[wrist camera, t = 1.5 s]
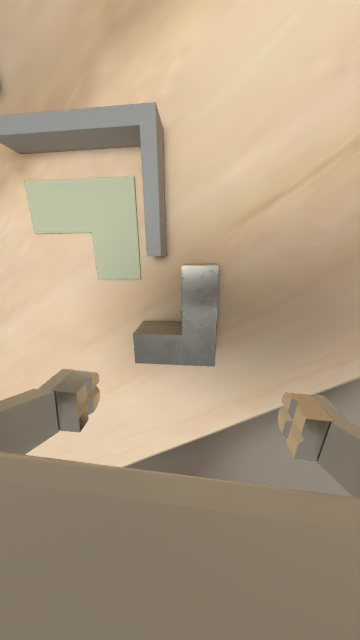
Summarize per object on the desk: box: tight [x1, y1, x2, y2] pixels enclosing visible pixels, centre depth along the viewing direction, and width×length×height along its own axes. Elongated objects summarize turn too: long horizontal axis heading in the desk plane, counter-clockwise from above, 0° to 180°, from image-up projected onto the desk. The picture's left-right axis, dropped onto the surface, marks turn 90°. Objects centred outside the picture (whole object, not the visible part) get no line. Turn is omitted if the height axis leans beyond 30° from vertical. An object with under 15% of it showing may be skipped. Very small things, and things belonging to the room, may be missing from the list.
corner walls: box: [0, 102, 167, 256], centre depth 24 cm, size 18×14×4 cm
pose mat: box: [24, 176, 141, 280], centre depth 27 cm, size 14×12×1 cm
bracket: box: [133, 264, 219, 366], centre depth 27 cm, size 10×12×5 cm
